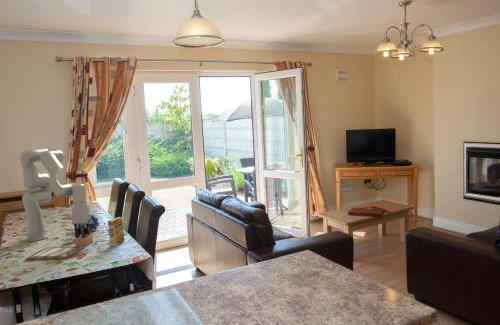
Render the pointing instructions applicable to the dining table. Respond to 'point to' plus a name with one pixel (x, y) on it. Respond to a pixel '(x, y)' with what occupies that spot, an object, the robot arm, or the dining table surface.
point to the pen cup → (84, 241)
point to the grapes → (94, 224)
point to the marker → (82, 231)
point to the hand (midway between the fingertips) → (83, 233)
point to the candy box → (116, 231)
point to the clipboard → (55, 253)
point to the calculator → (78, 233)
